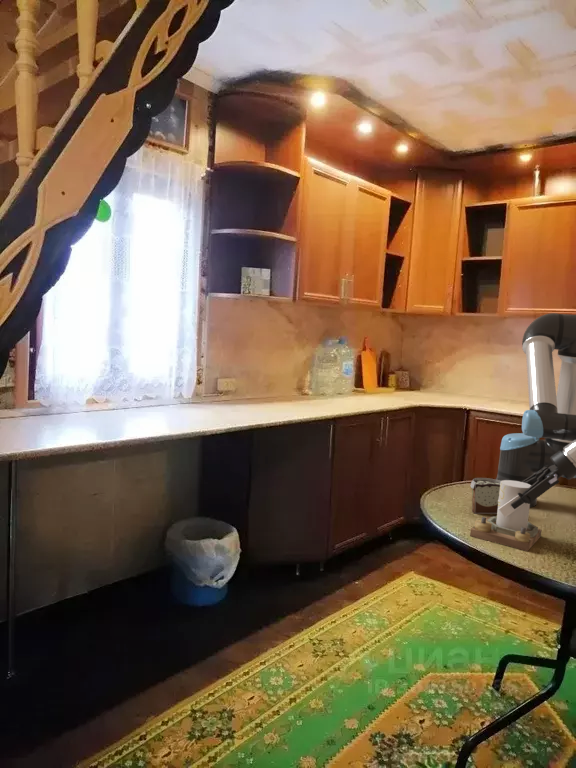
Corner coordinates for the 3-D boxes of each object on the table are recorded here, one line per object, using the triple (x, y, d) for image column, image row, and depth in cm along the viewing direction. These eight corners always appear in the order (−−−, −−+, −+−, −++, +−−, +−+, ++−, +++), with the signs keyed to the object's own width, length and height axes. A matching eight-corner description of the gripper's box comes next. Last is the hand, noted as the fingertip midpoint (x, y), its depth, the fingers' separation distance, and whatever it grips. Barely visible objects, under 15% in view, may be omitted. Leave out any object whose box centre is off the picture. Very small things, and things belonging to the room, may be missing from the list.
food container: (493, 507, 190) (497, 477, 189) (505, 513, 184) (508, 482, 183) (460, 507, 187) (463, 477, 186) (470, 513, 181) (473, 482, 180)
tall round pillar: (501, 519, 168) (506, 478, 167) (530, 526, 163) (535, 484, 162) (491, 525, 162) (496, 483, 161) (522, 533, 157) (526, 489, 156)
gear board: (487, 522, 173) (489, 505, 172) (540, 536, 164) (543, 518, 164) (470, 535, 160) (472, 517, 159) (527, 551, 151) (529, 531, 151)
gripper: (587, 480, 146) (512, 530, 153) (574, 464, 166) (508, 509, 172) (567, 456, 147) (493, 507, 154) (556, 443, 167) (491, 489, 174)
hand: (501, 508), depth 163 cm, fingers closed on tall round pillar, 8 cm apart
